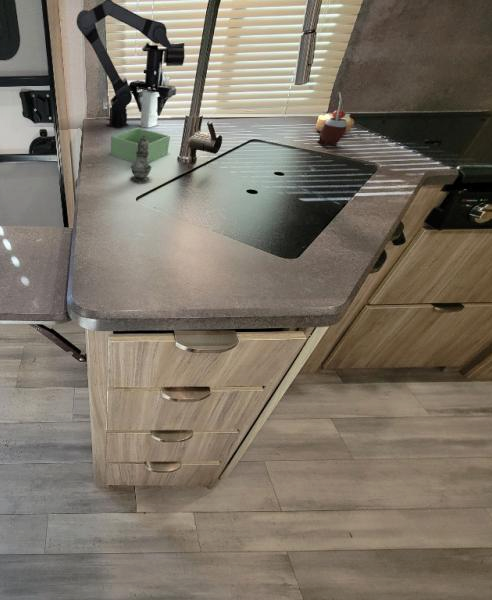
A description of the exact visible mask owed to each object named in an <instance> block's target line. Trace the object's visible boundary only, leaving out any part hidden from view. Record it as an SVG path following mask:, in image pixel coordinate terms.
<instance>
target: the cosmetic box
mask: <svg viewBox="0 0 492 600" xmlns="http://www.w3.org/2000/svg"><path fill="white" fill-rule="evenodd" d="M159 96H160V95H159V93H158V92H153V91H147V90H146V91H143V97H142V110H141V112H140V123H139V125H140V127H142V128H147V129H148V128H152V127H155V126H157V125H158V118H159V116H158V115H157V97H159Z"/></svg>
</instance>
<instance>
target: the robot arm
mask: <svg viewBox="0 0 492 600" xmlns="http://www.w3.org/2000/svg"><path fill="white" fill-rule="evenodd" d="M108 16H109V17H111V18H113V19H115V20H117V21H119V22H121V23H123V24H125V25H127V26H129V27H131V28H133V29H135V30H137V31H138V32H139V33H141V34H142V35H143V36H144V37H146V38H147V39H148V40H150V41H151V42H152V43H153V44H149V42H146V43H145V45H144V46H143V47H142V48H141V50H142V51H143V52H146V63H145V64H146V65H145V69H143V74H145V78H144V80H134V81H131V82H129V81H128V79H127V78H126V77H124V78H123V79H122V77H121V76H120V75H119V73H118V70H117V69H116V67H115V65H114V63H113V61H112V58H111V57H110V55H109V53H108V51H107V49H106V47H105V45H104V43H103V41H102V39H101V37H100V34H99V31H98V28H97V25H96V24H97V23H98V22H101V20H103V19H105V18H106V17H108ZM76 26H77V28H78V30H79V31H80V33H81V34H82V35H83V37H84V38H85V40H86V41H88V43H89V44H90V45H91V47H92V49H93V51H94V53H95V54H96V57H97V58H98V60H99V62H100V64H101V66H102V68H103V70H104V72H105V73H106V76H107V77H108V79H109V81H110V83H111V86H112V89H113V92H114V95H113V97H112V98H111V99H110V105H111V107H109V120H108V121H109V122H108V123H106V126H107V127H112V128H115V129H122V128H124V127H126V126H129V123H127V121H128V113H127V111H128V110H127V107H128V105H130V104H131V102H132V98H134V100H135V103H136V106H137V109H138V112H140V113H141V110H142V97H143V91H153V92H158V93H159V95H160V96H159V97H157V115H158V117H159V116H161V114H162V111H163V109H164V107H165V105H166V103H167V102H168V100H169V99H171V98H172V97H174V96H176V95H177V88H176V86H175V85H169V83H170V79H171V77H169V76H168V75H166V74H164V72H165V71H164V69H163V68H162V67H163V64H165V66H166V67H182V66H183V65H184V62H185V56H186V55H185V42H183V41H181V42H171V41H170V40H169V38H168V35H167V34H168V33H167V31H168V30H167V26H166V25H165V24H164V23H163V22H161V21H158V20H155V19H150V18H146V17H143V16H140V14H137V13H135V12H133V11H131V10H130V9H127V8H125V7H123V6H121V5H120V4H118V3H116V2H115V1H113V0H103V2H101V3H100V4H98V5H96V6H94V7H93V8H91V9H89V10H88V9H82V10H80V11H79V13H77V17H76ZM159 45H161V46H162V48H160V47H159Z"/></svg>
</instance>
